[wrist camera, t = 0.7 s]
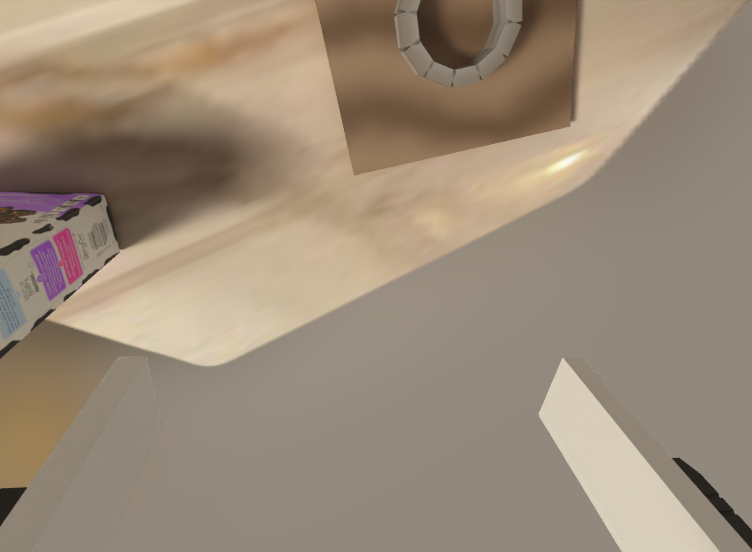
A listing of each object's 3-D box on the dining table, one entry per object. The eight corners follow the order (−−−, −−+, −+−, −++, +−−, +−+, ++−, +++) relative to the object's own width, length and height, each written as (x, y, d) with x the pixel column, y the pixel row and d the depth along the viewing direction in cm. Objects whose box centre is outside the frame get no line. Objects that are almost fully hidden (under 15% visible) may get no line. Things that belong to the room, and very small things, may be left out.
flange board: (288, -121, 26) (283, -146, 23) (578, -185, 26) (612, -217, 23) (353, 172, 36) (356, 182, 33) (564, 124, 36) (586, 130, 33)
